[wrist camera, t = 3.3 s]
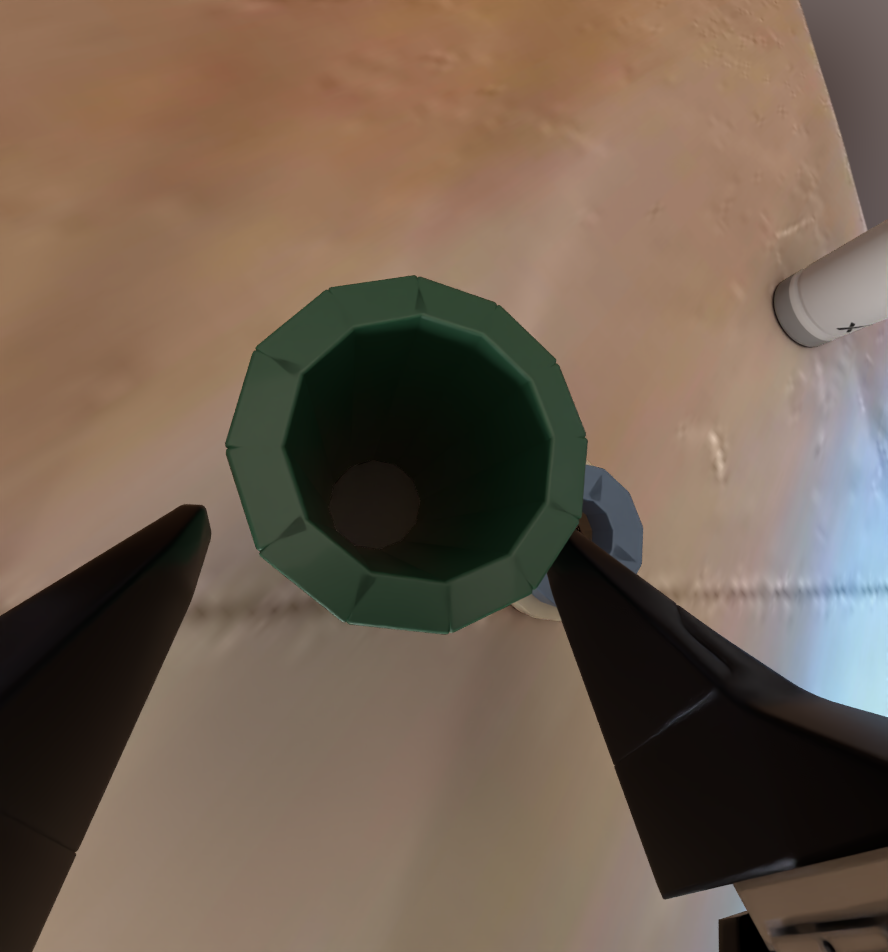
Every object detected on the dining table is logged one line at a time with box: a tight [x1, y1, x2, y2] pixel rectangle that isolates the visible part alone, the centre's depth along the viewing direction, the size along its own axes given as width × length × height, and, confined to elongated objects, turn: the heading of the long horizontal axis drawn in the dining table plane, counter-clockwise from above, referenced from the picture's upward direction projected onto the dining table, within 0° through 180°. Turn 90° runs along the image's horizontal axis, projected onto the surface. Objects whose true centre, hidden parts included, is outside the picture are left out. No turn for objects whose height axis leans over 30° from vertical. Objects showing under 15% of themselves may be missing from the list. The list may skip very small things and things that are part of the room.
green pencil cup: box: [225, 275, 588, 635], centre depth 12 cm, size 6×6×12 cm
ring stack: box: [511, 460, 643, 622], centre depth 18 cm, size 9×9×3 cm
